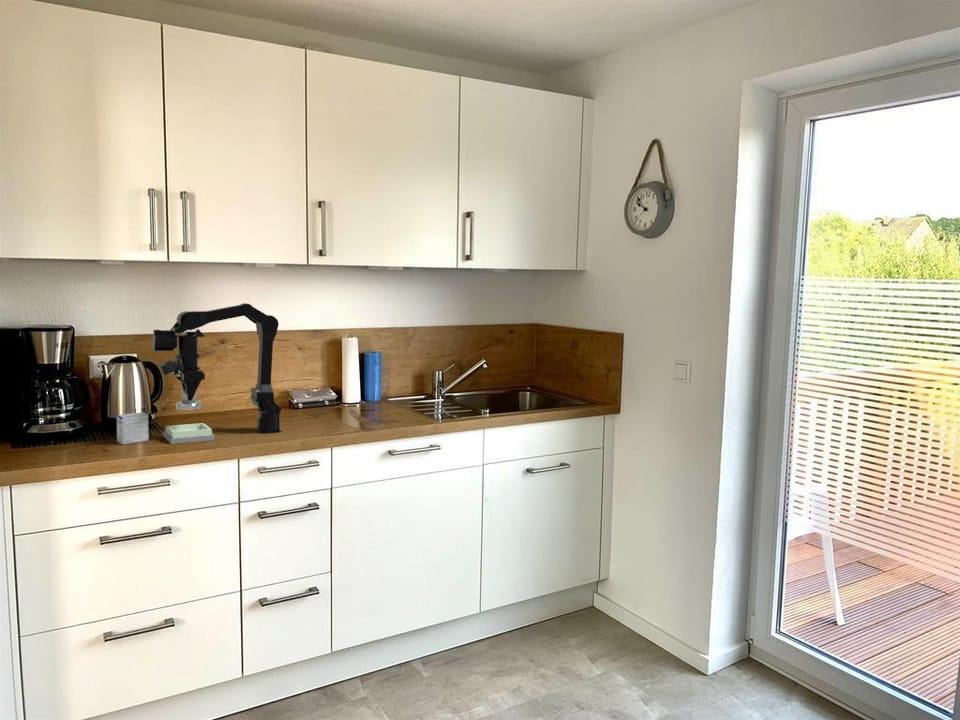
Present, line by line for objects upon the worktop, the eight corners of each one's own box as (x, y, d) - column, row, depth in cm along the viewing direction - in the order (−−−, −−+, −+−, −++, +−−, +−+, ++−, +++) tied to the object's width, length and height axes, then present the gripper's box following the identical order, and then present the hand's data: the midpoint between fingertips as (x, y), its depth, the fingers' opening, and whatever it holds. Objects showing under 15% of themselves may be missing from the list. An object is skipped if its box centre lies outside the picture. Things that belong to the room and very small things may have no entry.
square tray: (205, 432, 236) (205, 422, 235) (214, 439, 225) (214, 429, 225) (163, 436, 228) (163, 425, 228) (171, 443, 218) (170, 432, 217)
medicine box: (142, 439, 224) (141, 412, 223) (149, 441, 221) (148, 413, 220) (116, 442, 218) (116, 415, 217) (123, 444, 215) (122, 416, 214)
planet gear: (197, 406, 231) (197, 388, 230) (203, 409, 225) (202, 391, 224) (174, 407, 227) (173, 389, 226) (178, 411, 221) (178, 392, 220)
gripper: (155, 349, 227) (156, 397, 229) (166, 353, 212) (166, 405, 213) (191, 348, 234) (192, 395, 235) (205, 353, 218) (205, 403, 220)
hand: (188, 399), depth 226 cm, fingers closed on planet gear, 4 cm apart
